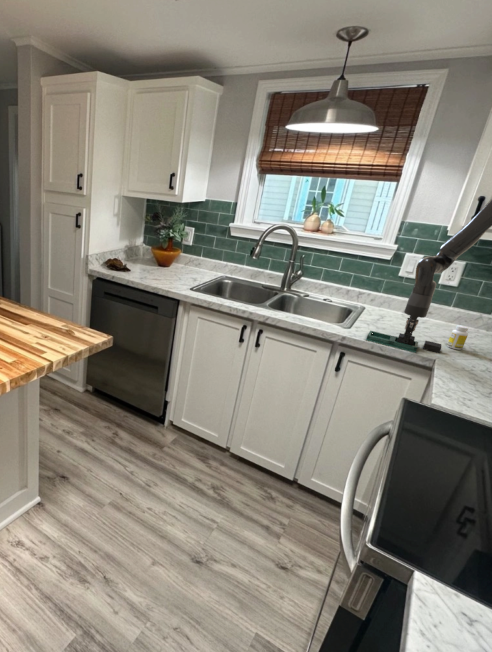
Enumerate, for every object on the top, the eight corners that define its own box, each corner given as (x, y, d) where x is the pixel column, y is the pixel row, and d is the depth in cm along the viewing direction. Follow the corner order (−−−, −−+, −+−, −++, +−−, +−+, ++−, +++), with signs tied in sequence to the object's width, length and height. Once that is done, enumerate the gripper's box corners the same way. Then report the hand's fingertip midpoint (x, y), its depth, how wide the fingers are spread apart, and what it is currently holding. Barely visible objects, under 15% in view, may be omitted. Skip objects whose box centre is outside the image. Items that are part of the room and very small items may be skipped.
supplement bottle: (463, 348, 178) (472, 327, 175) (459, 350, 175) (468, 329, 172) (448, 344, 182) (457, 323, 179) (444, 346, 179) (452, 325, 176)
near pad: (412, 343, 175) (415, 336, 174) (412, 346, 171) (414, 339, 170) (397, 339, 178) (399, 333, 177) (396, 342, 174) (398, 336, 173)
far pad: (438, 350, 174) (441, 344, 173) (438, 354, 170) (441, 347, 169) (423, 346, 177) (425, 340, 176) (422, 350, 173) (425, 343, 172)
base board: (416, 346, 177) (418, 341, 176) (415, 354, 168) (417, 348, 167) (369, 334, 187) (370, 329, 186) (365, 341, 178) (367, 336, 177)
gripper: (429, 310, 161) (414, 349, 167) (430, 303, 171) (416, 340, 177) (406, 305, 165) (393, 343, 171) (408, 298, 176) (396, 335, 182)
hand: (405, 341), depth 174 cm, fingers closed on near pad, 5 cm apart
